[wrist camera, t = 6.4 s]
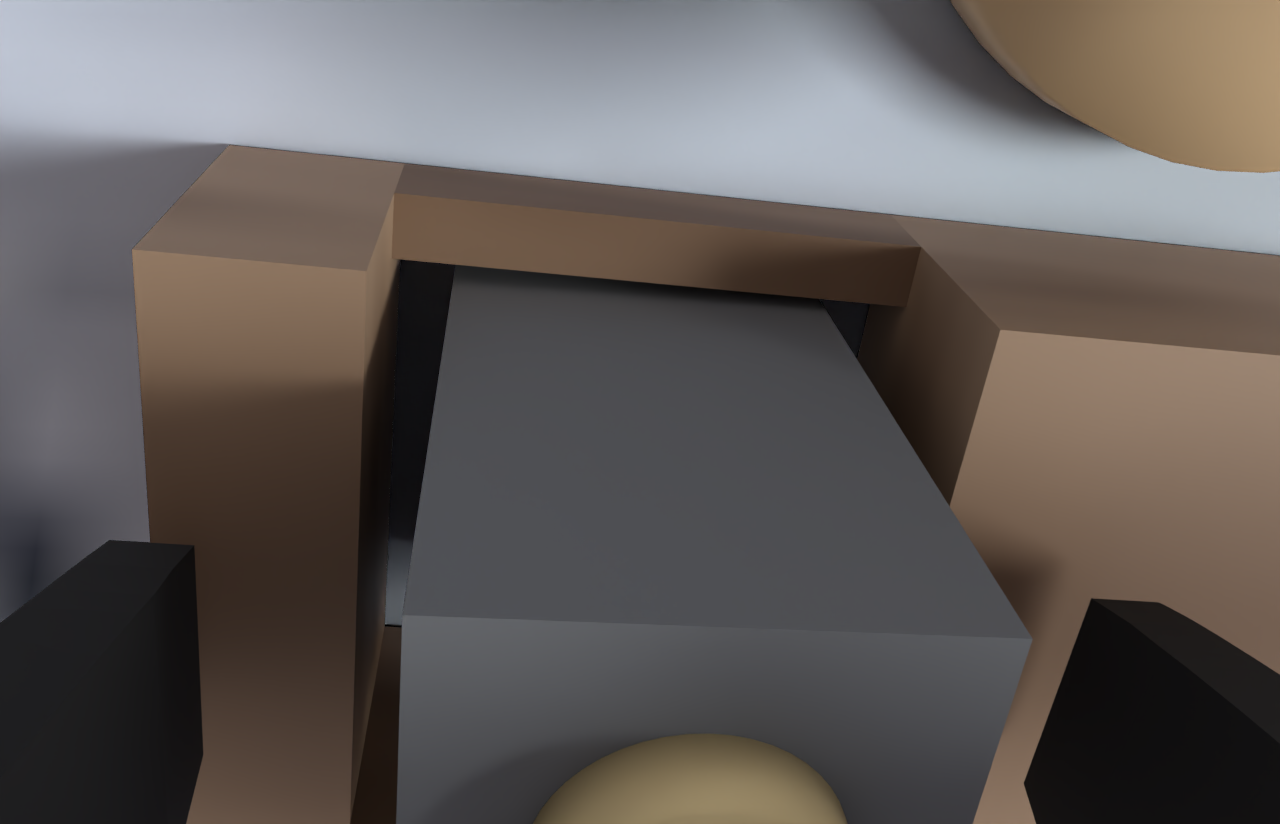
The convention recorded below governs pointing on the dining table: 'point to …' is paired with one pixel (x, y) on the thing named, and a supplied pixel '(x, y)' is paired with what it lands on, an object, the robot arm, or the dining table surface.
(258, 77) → the dining table surface
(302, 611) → the block with rectangular opening
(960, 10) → the spool
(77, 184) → the dining table surface
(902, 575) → the grey rectangular block
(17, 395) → the dining table surface
